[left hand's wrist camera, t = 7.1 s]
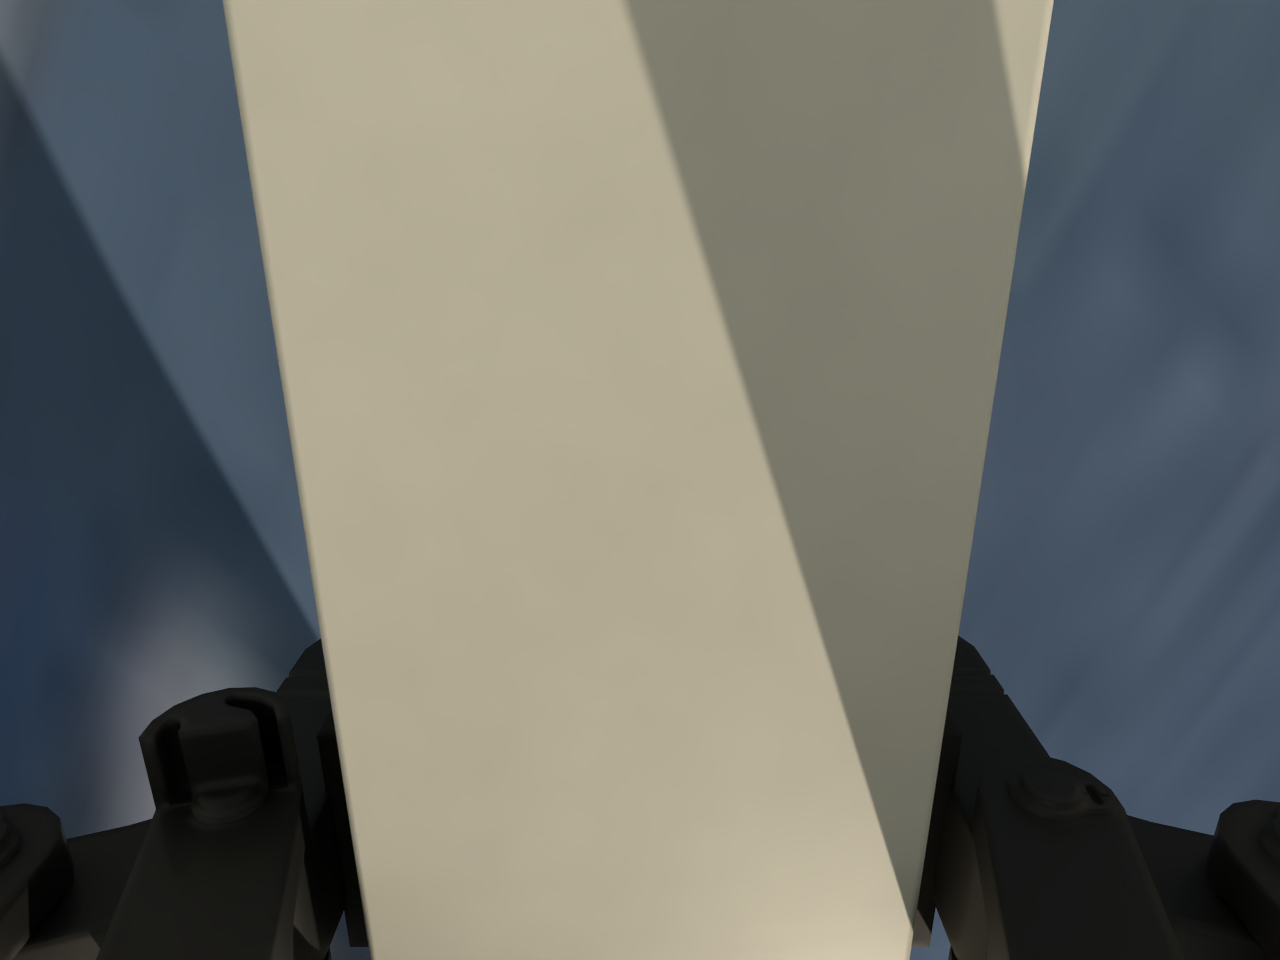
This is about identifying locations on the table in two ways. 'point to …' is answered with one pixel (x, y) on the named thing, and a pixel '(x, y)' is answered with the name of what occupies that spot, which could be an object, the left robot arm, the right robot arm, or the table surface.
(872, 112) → the post
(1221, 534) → the table surface
